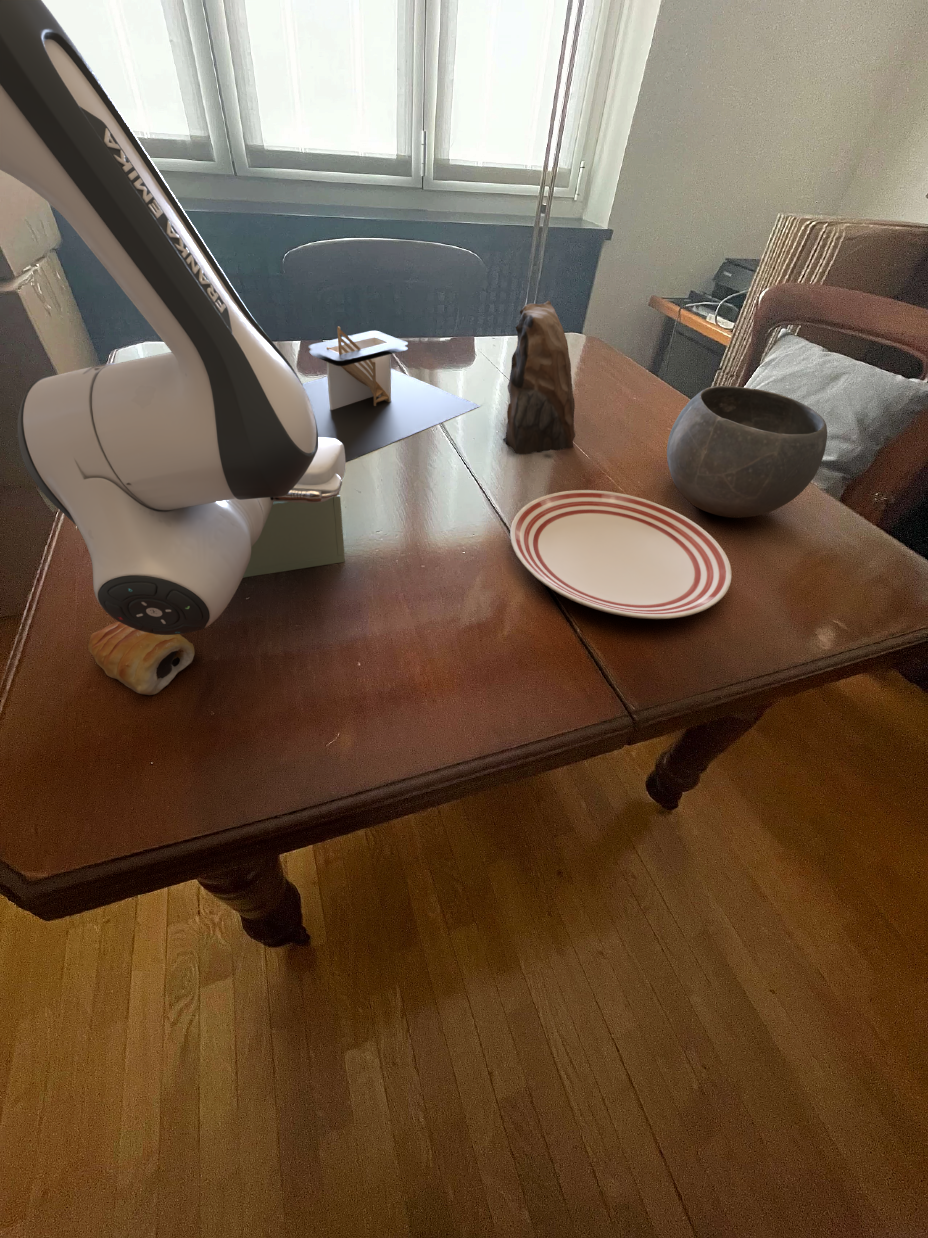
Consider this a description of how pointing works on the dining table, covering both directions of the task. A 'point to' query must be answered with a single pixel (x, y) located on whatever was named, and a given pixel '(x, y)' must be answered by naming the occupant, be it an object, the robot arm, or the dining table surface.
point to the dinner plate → (620, 554)
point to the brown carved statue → (540, 384)
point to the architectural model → (373, 394)
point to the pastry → (140, 656)
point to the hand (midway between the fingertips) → (257, 427)
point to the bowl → (744, 450)
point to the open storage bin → (298, 537)
